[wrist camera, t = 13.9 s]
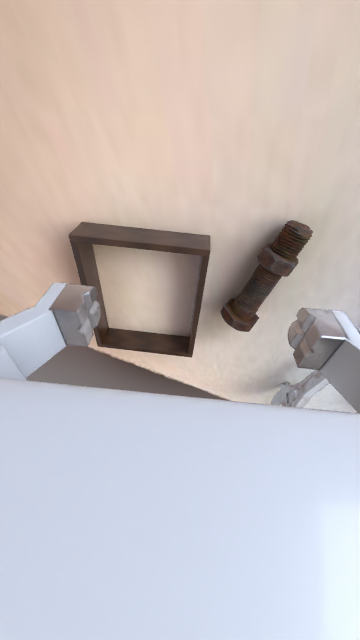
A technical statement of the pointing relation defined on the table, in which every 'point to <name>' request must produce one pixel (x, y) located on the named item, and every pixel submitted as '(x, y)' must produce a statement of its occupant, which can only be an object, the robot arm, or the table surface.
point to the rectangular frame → (146, 240)
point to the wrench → (300, 391)
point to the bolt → (267, 275)
